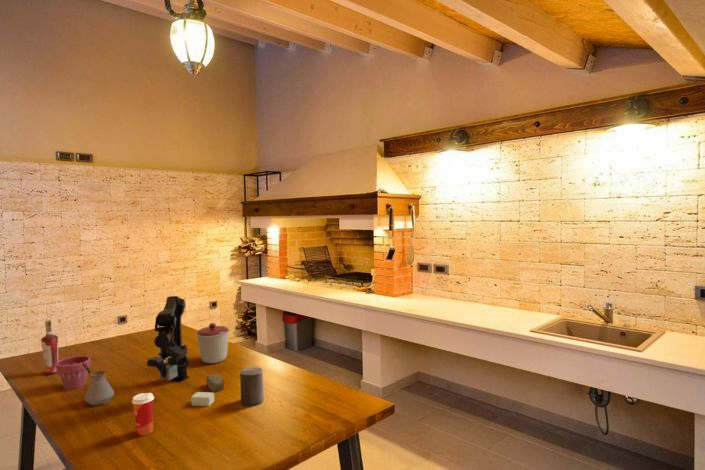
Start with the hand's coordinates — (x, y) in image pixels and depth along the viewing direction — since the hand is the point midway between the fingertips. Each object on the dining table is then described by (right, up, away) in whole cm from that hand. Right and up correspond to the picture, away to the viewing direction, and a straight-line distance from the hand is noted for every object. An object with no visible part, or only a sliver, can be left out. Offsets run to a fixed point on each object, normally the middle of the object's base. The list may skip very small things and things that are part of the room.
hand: (169, 375), depth 197 cm
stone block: (+17, -10, +11) cm, 23 cm away
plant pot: (-53, -11, +18) cm, 57 cm away
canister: (+5, -7, +48) cm, 49 cm away
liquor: (-77, -11, +36) cm, 86 cm away
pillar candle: (+39, -10, -5) cm, 40 cm away
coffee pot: (-34, -12, +2) cm, 36 cm away
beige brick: (+17, -11, -6) cm, 21 cm away
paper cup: (+3, -13, -29) cm, 32 cm away
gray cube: (0, -1, 0) cm, 1 cm away
